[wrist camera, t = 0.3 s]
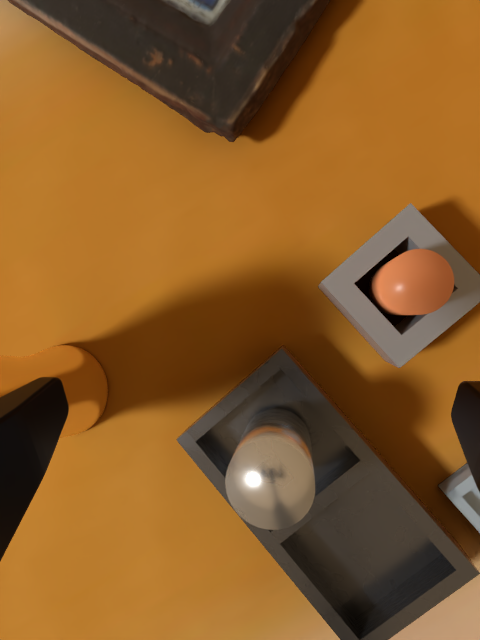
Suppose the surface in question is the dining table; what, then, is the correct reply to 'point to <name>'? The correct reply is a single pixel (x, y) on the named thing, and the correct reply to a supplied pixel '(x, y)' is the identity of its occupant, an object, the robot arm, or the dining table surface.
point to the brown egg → (412, 283)
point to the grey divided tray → (339, 511)
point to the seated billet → (272, 471)
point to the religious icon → (189, 48)
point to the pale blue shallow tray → (464, 494)
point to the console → (414, 329)
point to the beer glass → (76, 375)
